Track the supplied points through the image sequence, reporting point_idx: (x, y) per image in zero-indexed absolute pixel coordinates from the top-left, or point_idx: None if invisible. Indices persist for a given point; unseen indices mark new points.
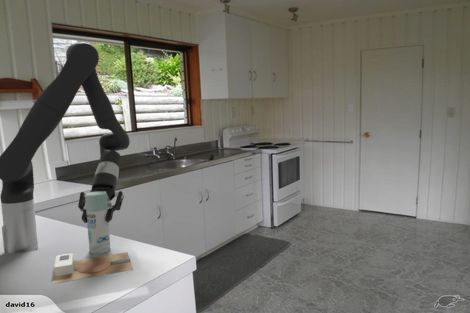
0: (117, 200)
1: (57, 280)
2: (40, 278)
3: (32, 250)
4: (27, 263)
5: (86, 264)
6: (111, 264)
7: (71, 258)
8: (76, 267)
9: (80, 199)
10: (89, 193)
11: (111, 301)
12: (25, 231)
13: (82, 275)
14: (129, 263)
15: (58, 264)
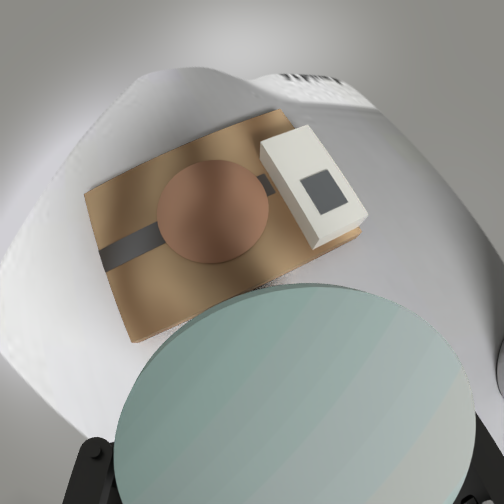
0: (85, 498)
1: (279, 122)
2: (359, 173)
3: (500, 357)
4: (463, 273)
5: (245, 217)
6: (154, 222)
7: (292, 185)
8: (272, 199)
9: (495, 461)
10: (435, 454)
11: (123, 92)
12: None
13: (221, 148)
14: (99, 235)
15: (308, 142)
